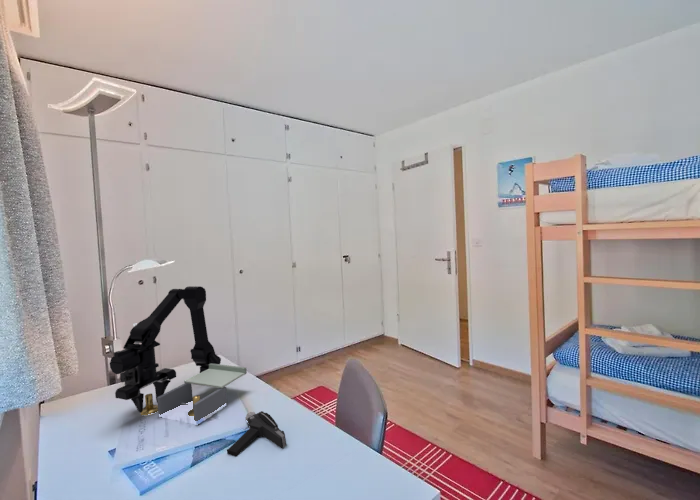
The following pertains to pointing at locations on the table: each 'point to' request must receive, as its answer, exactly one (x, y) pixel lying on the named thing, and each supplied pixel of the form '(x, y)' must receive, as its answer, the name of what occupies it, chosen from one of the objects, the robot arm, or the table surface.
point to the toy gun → (258, 432)
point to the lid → (217, 375)
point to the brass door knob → (149, 405)
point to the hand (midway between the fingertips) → (149, 407)
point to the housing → (184, 396)
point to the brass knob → (195, 399)
